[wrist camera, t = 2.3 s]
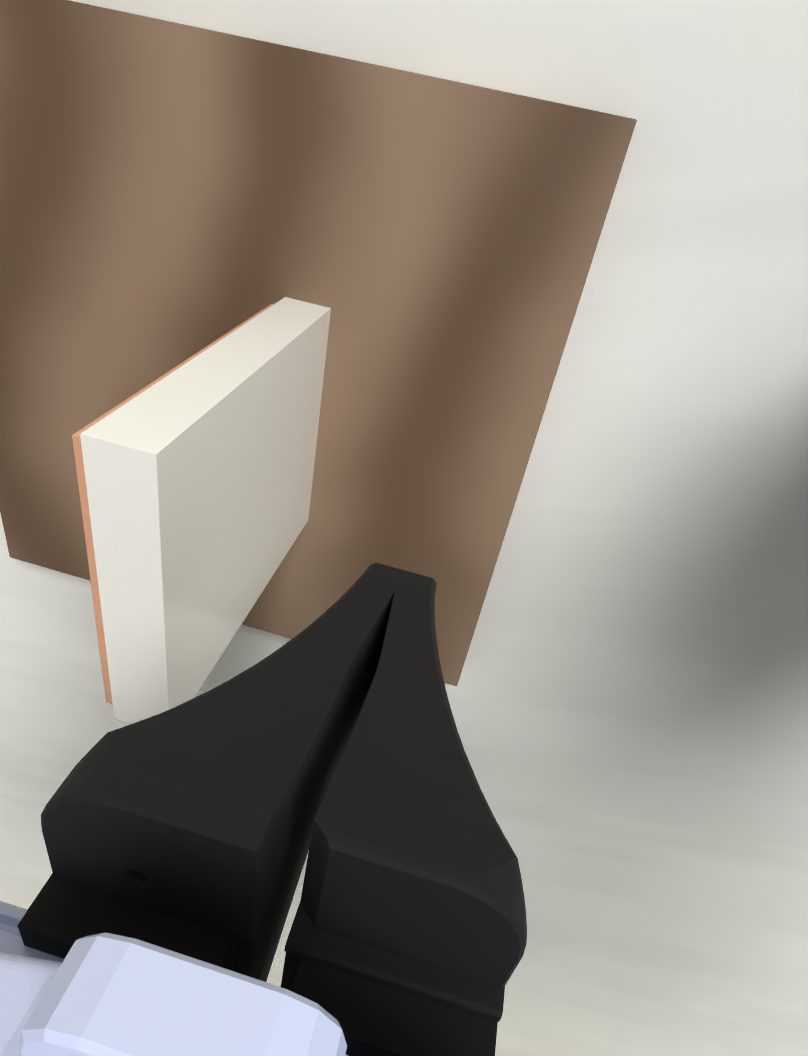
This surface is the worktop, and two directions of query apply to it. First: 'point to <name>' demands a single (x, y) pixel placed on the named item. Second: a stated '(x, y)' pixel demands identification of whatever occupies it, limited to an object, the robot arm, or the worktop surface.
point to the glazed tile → (198, 501)
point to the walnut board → (290, 278)
